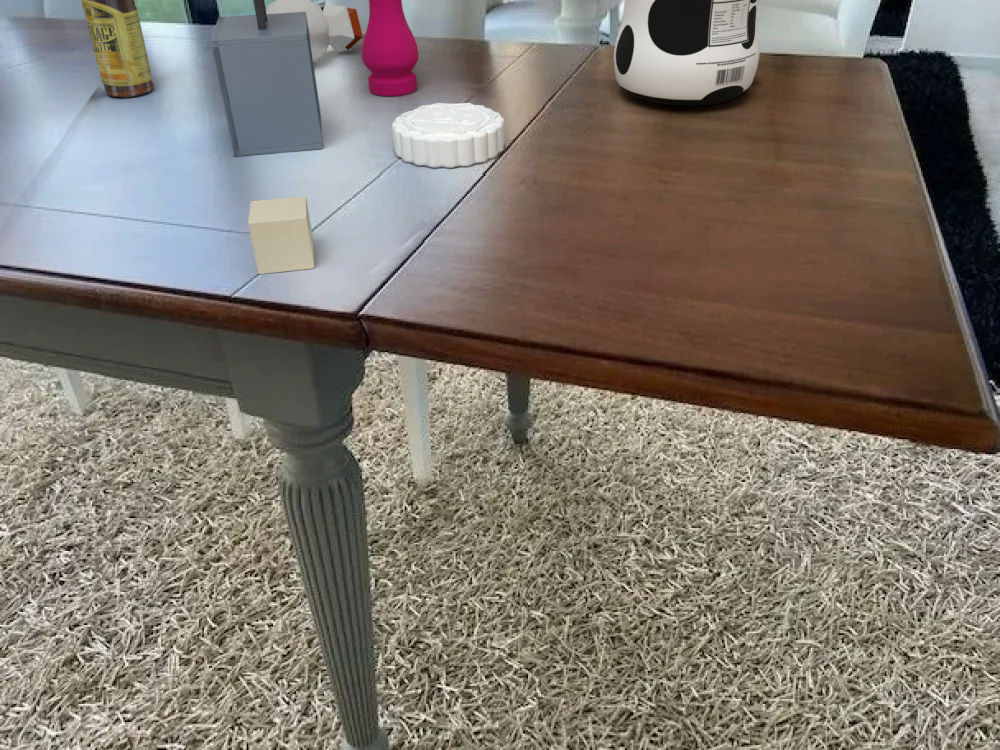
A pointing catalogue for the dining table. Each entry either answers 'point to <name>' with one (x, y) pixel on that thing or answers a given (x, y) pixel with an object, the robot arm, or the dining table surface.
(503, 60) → the dining table surface
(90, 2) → the sauce bottle
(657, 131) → the dining table surface
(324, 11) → the potion bottle
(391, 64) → the pepper mill
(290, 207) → the block
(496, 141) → the mooncake
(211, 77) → the dining table surface
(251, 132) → the grey drawer with handle
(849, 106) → the dining table surface
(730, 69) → the milk container
